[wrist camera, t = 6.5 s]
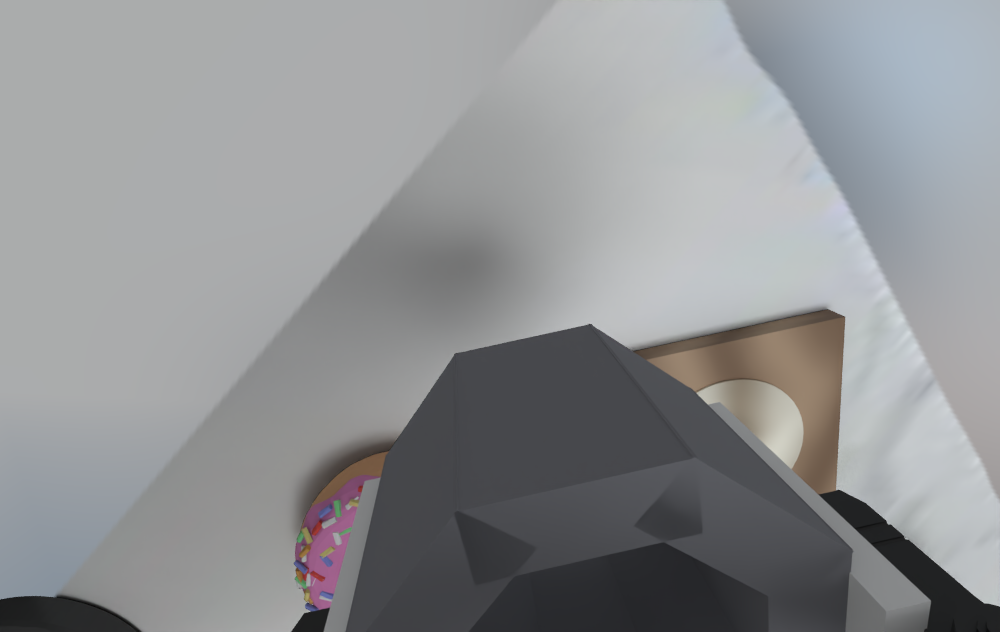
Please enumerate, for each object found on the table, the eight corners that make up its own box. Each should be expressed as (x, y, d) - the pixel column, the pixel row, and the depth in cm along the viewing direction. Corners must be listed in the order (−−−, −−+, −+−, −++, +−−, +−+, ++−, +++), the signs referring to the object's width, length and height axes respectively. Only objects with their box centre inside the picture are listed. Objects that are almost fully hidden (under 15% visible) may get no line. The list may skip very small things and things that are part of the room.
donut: (488, 420, 33) (493, 466, 28) (521, 575, 37) (530, 636, 33) (280, 461, 32) (250, 514, 28) (340, 612, 37) (323, 680, 32)
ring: (437, 614, 16) (428, 871, 10) (358, 374, 13) (281, 549, 7) (702, 553, 16) (838, 774, 10) (685, 302, 13) (863, 419, 7)
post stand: (619, 544, 37) (666, 658, 29) (593, 360, 32) (641, 434, 23) (820, 500, 37) (924, 600, 29) (828, 309, 32) (958, 365, 23)
